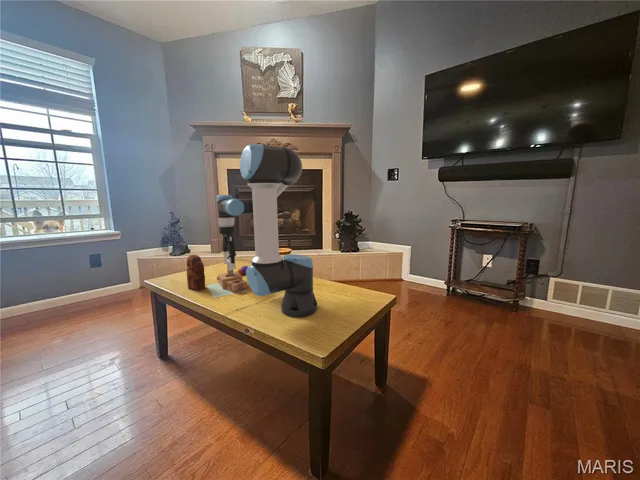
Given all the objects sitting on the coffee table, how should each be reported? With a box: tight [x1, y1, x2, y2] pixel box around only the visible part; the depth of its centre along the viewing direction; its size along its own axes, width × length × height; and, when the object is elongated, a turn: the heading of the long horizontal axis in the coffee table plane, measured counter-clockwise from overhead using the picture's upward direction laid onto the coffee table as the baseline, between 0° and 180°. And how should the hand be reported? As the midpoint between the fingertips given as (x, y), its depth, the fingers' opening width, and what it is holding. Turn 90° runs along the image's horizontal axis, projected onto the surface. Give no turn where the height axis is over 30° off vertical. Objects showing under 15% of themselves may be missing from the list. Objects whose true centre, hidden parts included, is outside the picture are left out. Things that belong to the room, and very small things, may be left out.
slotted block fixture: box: [206, 271, 248, 299], centre depth 131 cm, size 20×16×6 cm
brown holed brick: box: [227, 279, 248, 294], centre depth 129 cm, size 7×7×4 cm
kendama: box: [216, 265, 249, 282], centre depth 150 cm, size 6×6×20 cm
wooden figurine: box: [186, 254, 206, 292], centre depth 131 cm, size 12×6×18 cm, turn 56°
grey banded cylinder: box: [226, 254, 234, 277], centre depth 135 cm, size 3×3×16 cm
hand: (229, 266), depth 135 cm, fingers open, 13 cm apart
